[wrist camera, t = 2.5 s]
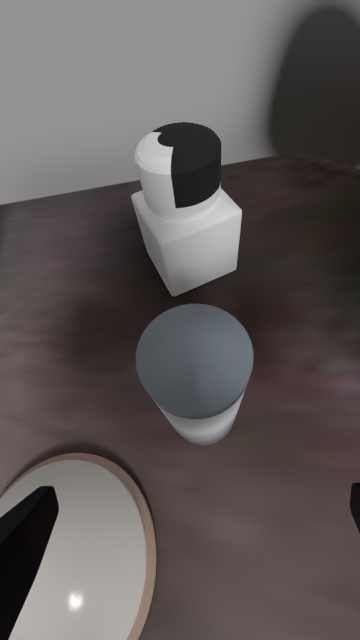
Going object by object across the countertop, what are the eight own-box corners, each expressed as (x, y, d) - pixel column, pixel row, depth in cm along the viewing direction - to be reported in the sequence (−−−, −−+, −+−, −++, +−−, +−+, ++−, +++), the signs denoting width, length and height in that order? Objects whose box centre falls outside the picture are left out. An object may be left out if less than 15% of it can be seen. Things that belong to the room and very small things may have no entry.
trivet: (191, 632, 15) (189, 643, 14) (-30, 776, 13) (-51, 801, 12) (120, 423, 21) (115, 420, 20) (-38, 504, 19) (-52, 505, 18)
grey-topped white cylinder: (247, 426, 20) (278, 376, 10) (188, 458, 19) (163, 437, 10) (214, 370, 22) (215, 288, 13) (161, 397, 21) (120, 332, 12)
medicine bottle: (204, 228, 31) (199, 101, 20) (237, 270, 27) (251, 142, 17) (146, 252, 30) (110, 132, 19) (172, 299, 26) (145, 182, 16)
